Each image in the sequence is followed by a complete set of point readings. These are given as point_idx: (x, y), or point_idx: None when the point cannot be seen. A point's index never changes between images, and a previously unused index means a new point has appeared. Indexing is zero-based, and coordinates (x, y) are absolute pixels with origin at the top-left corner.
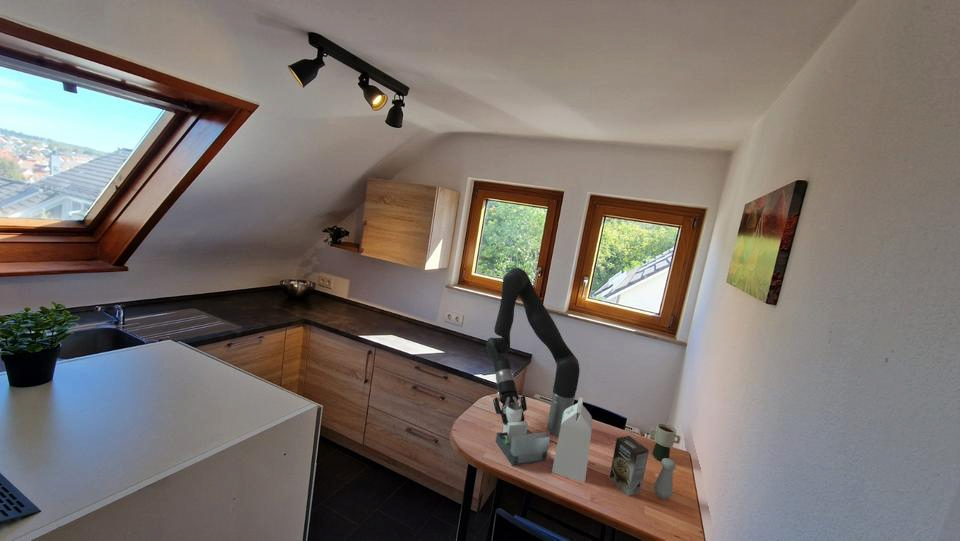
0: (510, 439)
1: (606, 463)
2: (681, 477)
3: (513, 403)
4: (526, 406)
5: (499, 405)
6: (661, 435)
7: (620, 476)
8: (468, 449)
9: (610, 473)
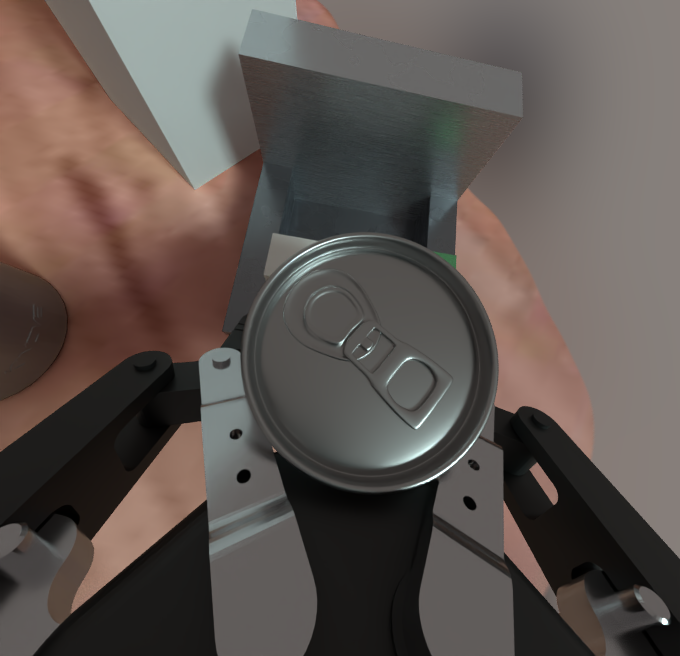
0: None
1: (26, 59)
2: None
3: (321, 468)
4: (96, 383)
5: (582, 497)
6: None
7: None
8: (569, 359)
9: None
